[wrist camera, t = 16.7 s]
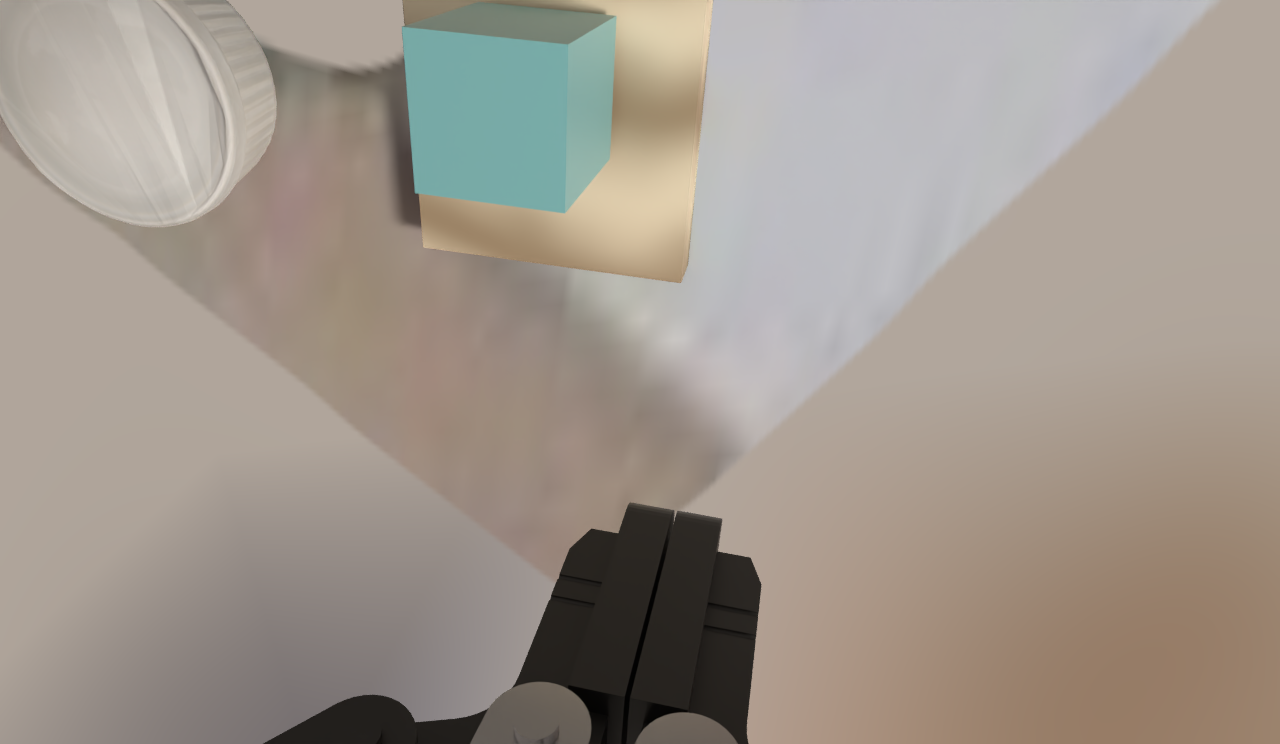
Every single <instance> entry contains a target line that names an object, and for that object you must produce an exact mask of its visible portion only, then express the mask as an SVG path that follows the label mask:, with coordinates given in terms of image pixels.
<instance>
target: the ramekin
mask: <svg viewBox="0 0 1280 744" xmlns="http://www.w3.org/2000/svg"><path fill="white" fill-rule="evenodd" d="M276 107H277V102H276V94H275V86H274V82H273V77H272V73H271V71H270V68H269V64H268V61H267V58H266V56H265V54H264V52H263V50H262V47H261V45H260V44H259V42H258V41H257V39H256V38H255V36H254V34H253V32H252V30H251V29H250V28H249V26H248V25H247V24H246V22H245V20H244V19H243V18H242V17H241V15H239V13H238V12H237V11H236V10H235V9H234V8H233V6H232V5H231V4H229V3H228V2H227V1H226V0H0V116H1V117H2V119H3V121H4V123H5V124H6V126H7V128H8V129H9V131H10V133H11V134H12V136H13V137H14V139H15V140H16V141H17V143H18V144H19V146H20V148H21V149H22V151H23V152H24V153H25V155H26V156H27V157H28V158H29V159H30V161H31V162H33V163H34V165H35V166H36V167H37V169H38V170H39V171H40V172H41V173H42V174H43V175H44V176H45V177H46V178H48V179H49V180H50V181H51V182H52V183H53V184H55V185H56V186H57V187H58V188H60V189H61V190H63V191H64V192H65V193H67V194H68V195H69V196H71V197H72V198H74V199H76V200H77V201H78V202H80V203H81V204H83V205H85V206H86V207H88V208H90V209H92V210H94V211H96V212H98V213H100V214H102V215H105V216H107V217H109V218H112V219H115V220H118V221H121V222H125V223H128V224H132V225H136V226H145V227H167V226H175V225H179V224H183V223H187V222H191V221H193V220H196V219H198V218H199V217H201V216H203V215H204V214H206V213H208V212H209V211H211V210H213V209H214V208H215V207H217V206H218V205H219V204H220V203H221V202H222V201H223V200H224V199H225V198H226V197H227V196H228V195H229V193H230V192H231V190H232V189H233V187H234V186H235V184H236V183H237V182H239V181H240V180H241V179H242V178H243V177H244V176H245V175H246V174H247V173H248V172H249V171H250V170H251V169H252V168H253V167H254V166H255V165H256V164H257V163H258V162H259V160H260V158H261V157H262V156H263V155H264V153H265V151H266V148H267V146H268V145H269V144H270V141H271V137H272V134H273V132H274V130H275V121H276Z"/></svg>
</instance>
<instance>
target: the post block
mask: <svg viewBox="0 0 1280 744" xmlns="http://www.w3.org/2000/svg"><path fill="white" fill-rule="evenodd" d="M476 2H485V3H495V4H505V5H515V6H525V7H535V8H545V9H555V10H565V11H575V12H585V13H594V14H604V15H614V16H617V17H616V39H615V60H614V82H613V103H612V125H611V146H610V159H609V161H608V162H607V163H606V164H605V166H604V167H603V168H602V169H601V170H600V172H599V173H598V174H597V175H596V176H595V178H594V179H593V180H592V181H591V183H590V184H589V185H588V186H587V187H586V189H585V190H584V191H583V192H582V194H581V195H580V196H579V197H578V198H577V200H576V201H575V202H574V203H573V204H572V206H571V207H570V208H569V209H568V211H567V212H566V213H558V212H550V211H543V210H536V209H528V208H521V207H514V206H506V205H499V204H492V203H484V202H477V201H469V200H462V199H455V198H447V197H440V196H433V195H425V194H419V203H420V215H421V227H422V238H423V247H424V248H431V249H439V250H446V251H453V252H460V253H467V254H475V255H482V256H489V257H496V258H504V259H511V260H518V261H525V262H532V263H540V264H547V265H554V266H561V267H568V268H576V269H583V270H590V271H597V272H605V273H612V274H619V275H626V276H633V277H641V278H648V279H655V280H662V281H669V282H677V283H681V281H682V279H683V276H684V274H685V271H686V269H687V266H688V257H689V247H690V236H691V226H692V215H693V205H694V194H695V184H696V173H697V163H698V152H699V142H700V131H701V121H702V110H703V100H704V89H705V79H706V68H707V58H708V47H709V37H710V26H711V16H712V5H713V0H403V11H404V23H405V26H406V25H409V24H412V23H415V22H418V21H421V20H424V19H427V18H430V17H433V16H436V15H440V14H443V13H446V12H449V11H452V10H455V9H458V8H461V7H464V6H467V5H470V4H473V3H476Z"/></svg>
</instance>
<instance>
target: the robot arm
mask: <svg viewBox="0 0 1280 744" xmlns="http://www.w3.org/2000/svg"><path fill="white" fill-rule="evenodd" d="M721 526H722V519H721V518H716V517H710V516H704V515H699V514H693V513H688V512H682V511H677V514H676V517H675V521H674V510H670V509H664V508H658V507H653V506H647V505H642V504H636V503H629V504H628V507H627V509H626V512H625V515H624V518H623V521H622V524H621V527H620V530H619V533H612V532H607V531H602V530H596V529H591V530H589V531H588V532H587V533H586V534H585V535H584V536H583V537H582V538H581V539H580V540H579V541H577V542H576V543H575V544H574V545H573V546H572V547H571V548H570V549H569V552H568V554H567V557H566V559H565V562H564V564H563V567H562V569H561V572H560V576H559V579H557V582H556V584H555V587H554V590H553V592H552V595H551V599H550V600H549V602H548V605H547V607H546V609H545V612H544V614H543V617H542V620H541V622H540V625H539V627H538V630H537V632H536V635H535V637H534V639H533V642H532V645H531V647H530V650H529V652H528V655H527V657H526V660H525V662H524V665H523V667H522V670H521V672H520V675H519V677H518V679H517V681H516V683H515V685H514V686H513V687H512V688H511V689H510V690H508V691H506V692H504V693H503V694H502V695H501V696H500V697H498V698H497V699H496V700H495V701H494V702H493V704H492V705H491V706H490V707H489V708H488V709H487V710H485V711H482V712H480V713H478V714H475V715H472V716H468V717H464V718H457V719H448V720H437V721H426V722H415V721H414V718H413V717H412V715H411V713H410V712H409V711H408V709H407V708H406V707H405V706H404V705H402V704H401V703H400V702H398V701H396V700H394V699H392V698H389V697H384V696H379V695H363V696H357V697H353V698H350V699H347V700H344V701H342V702H339V703H337V704H335V705H333V706H332V707H330V708H328V709H326V710H324V711H322V712H321V713H319V714H317V715H315V716H313V717H311V718H309V719H308V720H306V721H304V722H302V723H300V724H298V725H297V726H295V727H293V728H291V729H289V730H287V731H286V732H284V733H282V734H280V735H278V736H276V737H275V738H273V739H271V740H269V741H267V742H265V743H264V744H748V739H747V717H748V707H749V698H750V689H751V679H752V669H753V660H754V650H755V639H756V630H757V621H758V612H759V603H760V592H761V582H760V581H759V577H758V575H757V572H756V570H755V568H754V565H753V563H752V560H751V558H749V557H744V556H738V555H733V554H728V553H722V552H718V547H719V539H720V532H721Z"/></svg>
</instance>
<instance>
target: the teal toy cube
mask: <svg viewBox="0 0 1280 744" xmlns="http://www.w3.org/2000/svg"><path fill="white" fill-rule="evenodd" d="M616 17H617V16H614V15H604V14H594V13H585V12H575V11H565V10H555V9H545V8H535V7H525V6H515V5H505V4H495V3H485V2H476V3H473V4H470V5H467V6H464V7H461V8H458V9H455V10H452V11H449V12H446V13H443V14H440V15H436V16H433V17H430V18H427V19H424V20H421V21H418V22H415V23H412V24H409V25H406V26H403V27H402V36H403V48H404V61H405V74H406V86H407V99H408V111H409V124H410V137H411V149H412V162H413V174H414V187H415V193H418V194H425V195H433V196H440V197H447V198H455V199H462V200H469V201H477V202H484V203H492V204H499V205H506V206H514V207H521V208H528V209H536V210H543V211H550V212H558V213H566V212H567V211H568V209H569V208H570V207H571V206H572V204H573V203H574V202H575V201H576V200H577V198H578V197H579V196H580V195H581V194H582V192H583V191H584V190H585V189H586V187H587V186H588V185H589V184H590V183H591V181H592V180H593V179H594V178H595V176H596V175H597V174H598V173H599V172H600V170H601V169H602V168H603V167H604V166H605V164H606V163H607V162H608V161H609V159H610V146H611V125H612V103H613V82H614V60H615V39H616Z"/></svg>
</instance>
